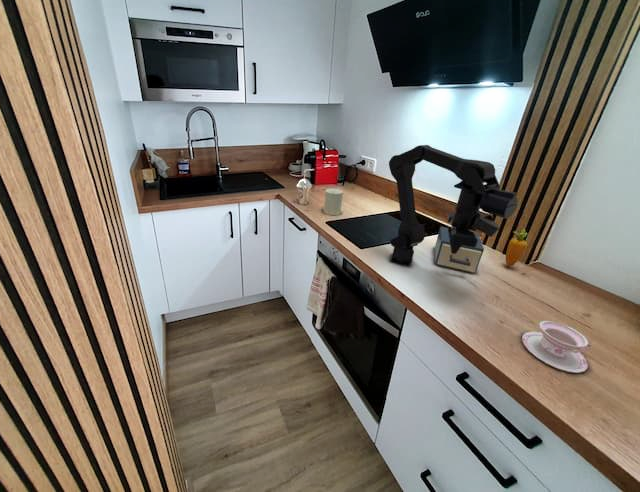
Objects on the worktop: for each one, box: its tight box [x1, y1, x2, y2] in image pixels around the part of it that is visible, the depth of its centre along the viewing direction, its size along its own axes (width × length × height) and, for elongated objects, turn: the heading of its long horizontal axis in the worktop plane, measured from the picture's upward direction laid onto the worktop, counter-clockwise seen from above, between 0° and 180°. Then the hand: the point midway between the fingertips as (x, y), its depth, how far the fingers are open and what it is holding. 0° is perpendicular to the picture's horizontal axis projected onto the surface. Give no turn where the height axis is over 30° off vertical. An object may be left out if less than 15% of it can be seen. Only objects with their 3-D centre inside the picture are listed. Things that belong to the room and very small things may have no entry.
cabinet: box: [434, 226, 485, 274], centre depth 106 cm, size 14×13×10 cm
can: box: [322, 187, 344, 216], centre depth 148 cm, size 9×9×12 cm
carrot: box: [505, 228, 528, 268], centre depth 101 cm, size 5×5×15 cm
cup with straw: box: [296, 168, 315, 205], centre depth 158 cm, size 8×9×20 cm
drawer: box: [437, 244, 482, 273], centre depth 103 cm, size 17×12×8 cm
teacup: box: [521, 320, 592, 374], centre depth 68 cm, size 12×12×6 cm
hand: (453, 253), depth 88 cm, fingers closed
